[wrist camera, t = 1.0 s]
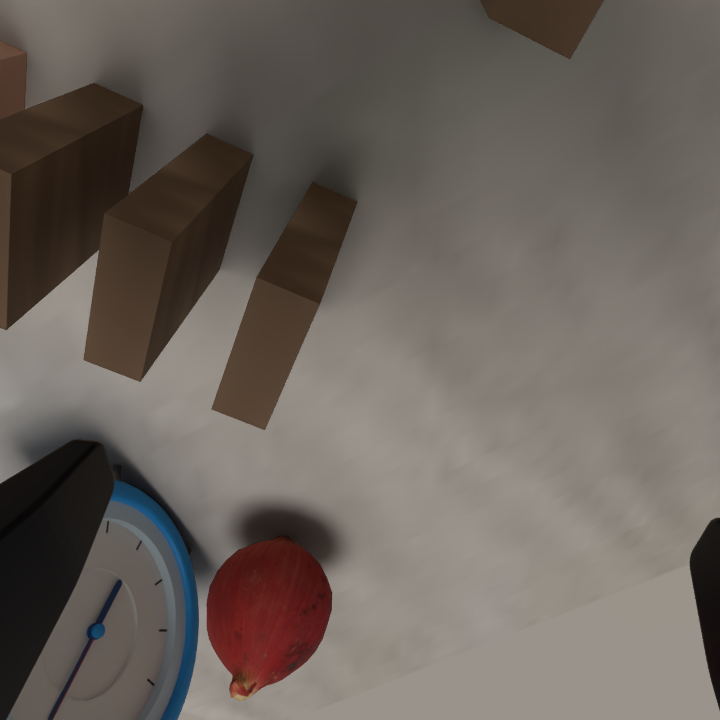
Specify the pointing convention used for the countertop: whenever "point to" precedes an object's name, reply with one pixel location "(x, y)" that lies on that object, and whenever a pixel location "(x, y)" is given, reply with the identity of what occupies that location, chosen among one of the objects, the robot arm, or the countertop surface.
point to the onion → (267, 613)
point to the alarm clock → (121, 624)
